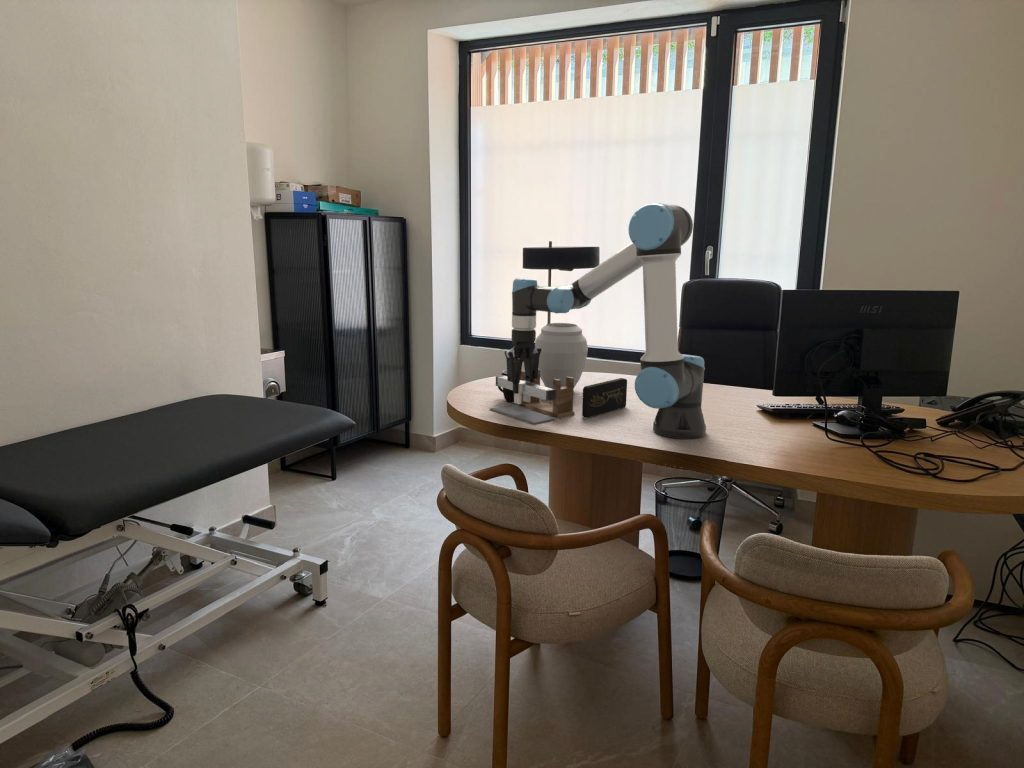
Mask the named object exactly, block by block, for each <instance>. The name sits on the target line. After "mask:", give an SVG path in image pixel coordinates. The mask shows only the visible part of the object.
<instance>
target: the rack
mask: <svg viewBox="0 0 1024 768" xmlns="http://www.w3.org/2000/svg"><path fill="white" fill-rule="evenodd" d="M520 380H522V381H526V378H525V371H521V377H520ZM534 380H535V381H534V382H532V383H533V384H536V385H540V386H541V378H540V370H539V369H538V378H537V379H534ZM574 388H575V387H574V378H572V377H566V386H565V387H561V380H559V379H553V389H556V398H555V400H552V404H550V403H547V402H544V401H541V399H540V398H537V397H533V396H530V402H525V401H523V393H522V395H521V404H518V406H519V407H522V408H525V409H528V410H531V411H535V412H538V413H541V414H544V415H547V416H550V417H554V418H556V419H562V418H563V419H564V418H568V417H572V416H575V411H574Z"/></svg>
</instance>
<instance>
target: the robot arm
mask: <svg viewBox="0 0 1024 768" xmlns="http://www.w3.org/2000/svg"><path fill="white" fill-rule="evenodd" d="M628 223H629V224H628V235H629V238H630V241H631V242H630V243H628V244H627V245H626V246H624V247H622V248H621V249H620V250H618V251H617V252H615V253H614V254H613V255H611V256H610V257H608V258H607V259H605V260H604V261H603V262H601V263H600V264H598V265H597V266H595V267H594V268H593V269H591V270H590V271H588V272H587V273H585V274H584V275H582V276H581V277H579V278H578V279H576V280H575V281H574V282H572V283H571V284H566V285H556V286H540V285H538V280H537V279H536V278H532V277H531V278H530V277H529V278H528V277H521V278H520V277H518V278H514V280H513V281H512V289H511V290H512V291H511V302H512V305H511V306H512V308H511V310H512V312H511V327H512V329H511V342H512V345H511V348H510V349H509V350H504V355H505V359H506V370H507V379H508V381H510V382H512V383H513V393H514V403H515V404H518V405H519V404H521V395H522V384H521V383H520V377H521V370H523V367H524V370H525V378H526V381H525V382H529V383H532V382H534V381H535V380H534V379H537V378H538V368H539V357H540V353H541V350H542V349H541V348H537V347H535V342H536V338H537V337H536V336H537V330H536V328H537V312H545V313H546V312H547V313H553V314H567V313H569V312H570V311H571V310H579V309H582V308H586V307H588V306H589V305H590V303H591V301H592V300H593V299H594V298H596V297H598V296H599V295H600V294H602V293H604V292H605V291H607V290H608V289H610V288H611V287H613V286H614V285H615V284H617V283H619V282H621V281H622V280H623V279H625V278H627V277H628V276H629V275H632V274H633V273H634V272H636V271H637V270H639V269H641V268H642V282H643V283H642V284H643V286H642V287H643V311H644V336H645V353H644V354H643V355H642V356H641V357H640V371H639V372H638V374H637V375H636V377H635V380H634V390H635V393H636V394H635V395H636V397H638V399H639V400H640V401H641V402H642V403H643V404H644V405H645V406H647V407H649V408H652V409H655V410H656V409H658V410H657V412H656V415H655V418H654V420H653V421H652V422H653V423H652V431H653V432H654V433H655V434H657V435H660V436H663V437H668V438H673V439H685V440H687V439H697V438H698V439H699V438H702V437H704V436H706V434H707V433H706V431H707V425H706V423H705V418H704V414H703V410H702V409H703V408H702V403H703V402H702V401H703V390H704V377H705V370H706V368H705V359H704V358H703V357H702V356H698V355H691V354H682V353H681V352H680V351H679V343H678V341H679V340H678V338H679V337H678V313H677V311H678V310H677V309H678V308H677V306H678V305H677V279H676V278H677V276H676V275H677V271H676V270H677V267H676V265H677V264H676V261H677V260H678V258H679V257H681V255H682V246H684V245H685V243H687V242H688V240H689V239H690V238H691V236H692V233H693V229H694V223H693V219H692V216H691V214H690V213H689V212H688V210H686V209H685V208H684V207H682V206H680V205H677V204H668V203H661V202H658V203H657V202H654V203H648V204H645V205H643V206H641V207H639V208H637V210H636V211H635V212H634V214H632V215H631V218H630V221H629V222H628ZM523 365H524V366H523ZM523 401H525V402H530V395H527V394H523Z"/></svg>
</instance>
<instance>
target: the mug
mask: <svg viewBox="0 0 1024 768" xmlns="http://www.w3.org/2000/svg"><path fill="white" fill-rule="evenodd" d="M521 371H525V369H521ZM501 375H505V376H507V369H504V370H502V371H501ZM497 388H498V390H499V391H500V392H501V393H502V394H503V399H504V400H505V401H506V402H507V403H512V402H514V393H513V390H510V389H506V388H503V387H500V386H497Z"/></svg>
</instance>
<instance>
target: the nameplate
mask: <svg viewBox="0 0 1024 768" xmlns="http://www.w3.org/2000/svg"><path fill="white" fill-rule="evenodd" d="M627 389H628V380H627V378H623V377H619V378H615V379H610V380H607V381H603V382H598V383H594V384H590V385H585V386H583V387H582V402H581V403H582V404H581V405H582V406H581V407H582V408H581V411H582V412H581V416H582V417H583V418H586V419H589V418H590V419H591V418H592V417H597V416H599V415H600V416H601V415H604V414H607V413H611V412H615V411H617V410H622V409H625V408H626V406H627V393H628V391H627Z"/></svg>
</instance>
